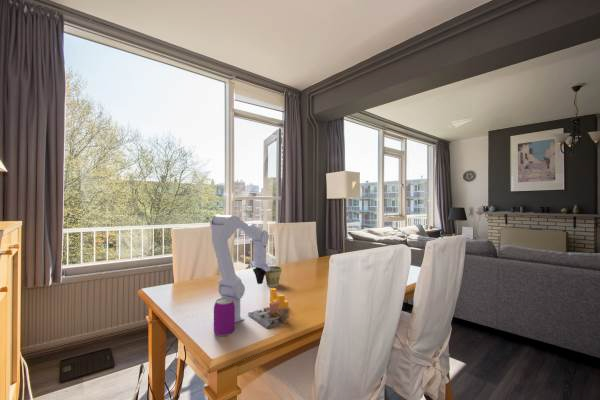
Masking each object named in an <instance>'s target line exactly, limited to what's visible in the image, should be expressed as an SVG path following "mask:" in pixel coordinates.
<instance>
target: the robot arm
mask: <svg viewBox="0 0 600 400" xmlns="http://www.w3.org/2000/svg"><path fill="white" fill-rule="evenodd" d="M209 225H210V229H211V242H212V245H213V249H214V254H215V257H216V260H217V266H218V268H219V273H220V275H221V278H220V279H219V280H218V283H217V284H218V293H219V296H220V295H221V296H220V297H221V298H232V299H233V302H234V305H235V323H238V322H241V321H244V320H245V318H244V317H243V316H242V315H241V299H243V296H244V295H245V290H246V288H245V285H244V284H243V282H242V279H241V278H240V277H239V276H238V275H237V274H236V271H235V267H234V264H233V263H234V262H233V258H232V255H231V250H230V248H229V242H228V239H231V238H232V236H233V235H234V233H235V232H236V230H240V231H242V232H243V234H244V235H245V236H246V237H248V238H250V239H251V240H252V242H254V244H253V248H254V249H253V261H251V262H250V266H251V267H254V268H253V269H252V271H253V273H254V275H255V279H256V283H257V285H262V284H263V283H264V279H265V277H266V276H265V274H266V272H267V271H270V267H269V266H270V265H269V263H268V262H267V246H268V240H269V238H270V235H269V232H268V231H267V230H265V229H261V227H260V226H259V227H258V226H256V223H246V222H245V221H244V220H242V219H241V218H240V217H239V216H237V215H235V214H232V215H229V214H215V215H213V217H212V219H211V220H210V223H209Z"/></svg>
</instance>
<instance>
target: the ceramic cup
mask: <svg viewBox="0 0 600 400" xmlns="http://www.w3.org/2000/svg"><path fill="white" fill-rule="evenodd" d="M268 266H269V267H270V271H267V272H266V274H265V276H264V277H265V281H266V286H267V287H270V288H275V287H278V286H279V283H280V279H281V274H282V267H281V266H277V265H268Z"/></svg>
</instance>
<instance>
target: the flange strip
mask: <svg viewBox="0 0 600 400" xmlns="http://www.w3.org/2000/svg"><path fill="white" fill-rule="evenodd" d="M261 313H264V310H262V309H257V310H253V311H252V310H251V311H250V312H249V311H248V312H247V316H249V317H250V318H252V320H254V321H255V322H257V323H258V324H260V325H261V326H263V327H264V328H265V329H267V330H269V329H272V328H275V327H279V326H281V324H282V323H281V322H280V321H278V320H277V319H276V320H272V321H269V322H268V321H267V320H269V319H272V318H273V317H272V316H270V315H269V314H264V315H260V316H259V314H261Z"/></svg>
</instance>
